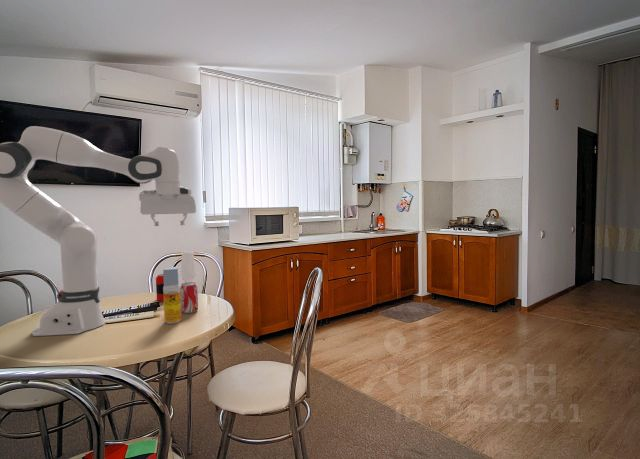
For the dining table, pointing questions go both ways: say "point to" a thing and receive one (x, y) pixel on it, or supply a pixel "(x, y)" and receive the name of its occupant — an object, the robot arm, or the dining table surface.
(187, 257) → the champagne flute
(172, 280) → the slate block
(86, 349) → the dining table surface
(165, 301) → the beer can
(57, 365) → the dining table surface
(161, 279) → the soda can
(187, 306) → the soda can
